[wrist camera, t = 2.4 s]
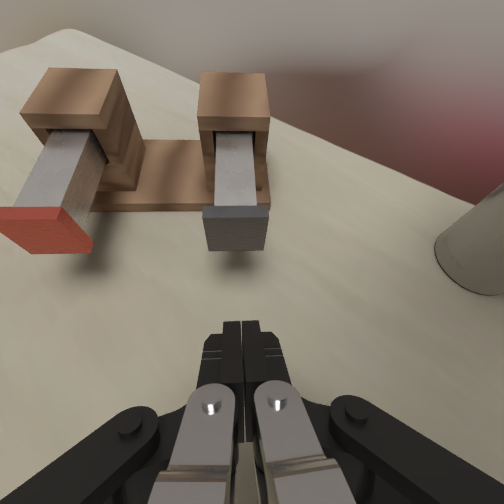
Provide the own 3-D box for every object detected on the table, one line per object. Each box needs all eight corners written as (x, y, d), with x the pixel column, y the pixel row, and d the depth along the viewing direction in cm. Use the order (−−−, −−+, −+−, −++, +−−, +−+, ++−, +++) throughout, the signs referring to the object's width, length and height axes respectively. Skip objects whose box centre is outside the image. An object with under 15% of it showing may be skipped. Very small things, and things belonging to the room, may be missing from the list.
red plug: (123, 144, 31) (104, 101, 27) (90, 253, 24) (56, 219, 19) (78, 143, 31) (51, 100, 27) (31, 254, 24) (-18, 219, 19)
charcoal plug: (255, 145, 32) (257, 104, 28) (263, 250, 25) (268, 217, 20) (213, 144, 32) (209, 103, 28) (208, 251, 25) (202, 217, 20)
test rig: (263, 149, 40) (271, 64, 30) (269, 210, 34) (282, 130, 24) (96, 147, 39) (45, 57, 29) (72, 211, 33) (-3, 126, 23)
